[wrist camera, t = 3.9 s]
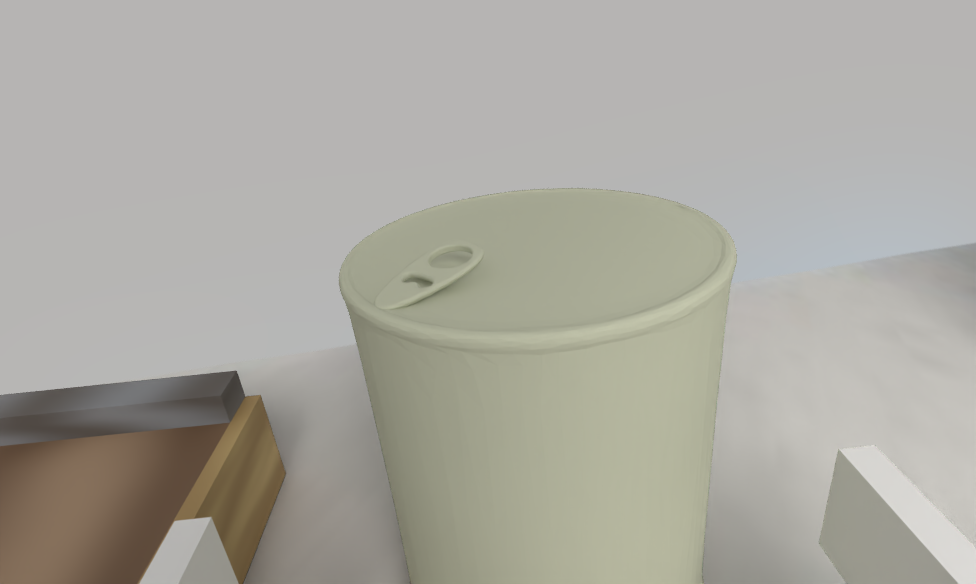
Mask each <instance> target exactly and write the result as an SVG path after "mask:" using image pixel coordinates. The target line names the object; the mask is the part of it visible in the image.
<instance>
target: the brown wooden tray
mask: <svg viewBox="0 0 976 584" xmlns="http://www.w3.org/2000/svg"><path fill="white" fill-rule="evenodd" d="M285 474H286V473H285V470H284V467H283V463H282V460H281V457H280V454H279V451H278V448H277V445H276V442H275V439H274V435H273V432H272V429H271V426H270V423H269V420H268V417H267V414H266V410H265V407H264V404H263V401H262V398H261V395H257V396H247V397H245V394H244V391H243V388H242V385H241V382H240V379H239V376H238V373H237V371H230V372H220V373H210V374H200V375H191V376H181V377H171V378H161V379H152V380H142V381H132V382H123V383H113V384H103V385H93V386H84V387H74V388H64V389H55V390H46V391H35V392H26V393H16V394H6V395H0V584H139V583H140V581H141V580H142V578H143V576H144V574H145V572H146V571H147V569H148V567H149V565H150V564H151V562H152V560H153V558H154V557H155V555H156V553H157V551H158V549H159V548H160V546H161V544H162V542H163V541H164V539H165V537H166V535H167V534H168V532H169V530H170V528H171V526H172V525H173V523H174V521H179V520H188V519H197V518H207V517H212V520H213V522H214V525H215V527H216V530H217V532H218V534H219V537H220V539H221V542H222V544H223V547H224V549H225V552H226V554H227V556H228V559H229V561H230V564H231V566H232V569H233V571H234V573H235V576H236V578H237V581H238V583H239V584H243V582H244V579H245V577H246V574H247V572H248V569H249V566H250V564H251V561H252V559H253V556H254V554H255V551H256V549H257V546H258V543H259V541H260V538H261V536H262V533H263V531H264V528H265V526H266V523H267V520H268V518H269V515H270V513H271V510H272V508H273V505H274V502H275V500H276V497H277V495H278V492H279V490H280V487H281V485H282V482H283V479H284V477H285Z"/></svg>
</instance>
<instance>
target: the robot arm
mask: <svg viewBox="0 0 976 584" xmlns="http://www.w3.org/2000/svg"><path fill="white" fill-rule="evenodd" d="M819 544H820V546H821V547H822V549H823V550H824V552H825V553H826V554H827V556H828V557H829V559H830V560H831V562H832V563H833V565H834V566H835V567H836V569H837V570H838V572H839V573H840V575H841V576H842V578H843V579H844V580H845V582H846V583H847V584H976V547H975V546H974V545H973V544H972V543H971V542H970V541H969V540H968V539H967V538H966V537H965V536H964V535H963V534H962V533H961V532H960V531H959V530H958V529H957V528H956V527H955V526H954V525H953V524H952V523H951V522H950V521H949V520H948V519H947V518H946V517H945V516H944V515H943V514H942V512H941V511H940V510H939V509H938V508H937V507H936V506H935V505H934V504H933V503H932V502H931V501H930V500H929V499H928V498H927V497H926V496H925V495H924V494H923V493H922V492H921V491H920V490H919V489H918V488H917V487H916V486H915V485H914V484H913V483H912V482H911V481H910V480H909V479H908V478H907V477H906V476H905V475H904V474H903V473H902V472H901V471H900V470H899V469H898V468H897V467H896V466H895V465H894V464H893V463H892V462H891V461H890V460H889V459H888V458H887V457H886V456H885V455H884V454H883V453H882V452H881V451H880V449H879V448H878V447H877V446H876V445H869V446H860V447H851V448H842V449H838V454H837V458H836V463H835V468H834V473H833V477H832V482H831V487H830V492H829V496H828V501H827V506H826V511H825V515H824V520H823V525H822V530H821V535H820V539H819ZM139 584H239V583H238V581H237V578H236V576H235V573H234V571H233V569H232V566H231V564H230V561H229V559H228V556H227V554H226V552H225V549H224V547H223V544H222V542H221V539H220V537H219V534H218V532H217V530H216V527H215V525H214V522H213V520H212V517H207V518H197V519H188V520H179V521H174V523H173V525H172V526H171V528H170V530H169V532H168V534H167V535H166V537H165V539H164V541H163V542H162V544H161V546H160V548H159V549H158V551H157V553H156V555H155V557H154V558H153V560H152V562H151V564H150V565H149V567H148V569H147V571H146V572H145V574H144V576H143V578H142V580H141V581H140V583H139Z"/></svg>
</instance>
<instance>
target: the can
mask: <svg viewBox="0 0 976 584" xmlns="http://www.w3.org/2000/svg"><path fill="white" fill-rule="evenodd" d="M736 262H737V254H736V248H735V245H734V241H733V240H732V238H731V236H730V235H729V233H728V232H727V231H726V230H725V228H723V227H722V226H721V225H720V224H719V223H718V222H716V221H715V220H713V219H712V218H710V217H709V216H708V215H706V214H704V213H702V212H700V211H698V210H696V209H693V208H690V207H688V206H685V205H683V204H680V203H677V202H674V201H670V200H666V199H663V198H659V197H654V196H649V195H644V194H638V193H631V192H623V191H615V190H603V189H585V188H584V189H583V188H558V189H534V190H522V191H512V192H504V193H496V194H490V195H484V196H478V197H473V198H468V199H463V200H458V201H454V202H450V203H446V204H443V205H438V206H434V207H432V208H429V209H425V210H422V211H419V212H416V213H414V214H411V215H408V216H405V217H403V218H401V219H398V220H396V221H394V222H392V223H389V224H388V225H386V226H384V227H382V228H380V229H378V230H377V231H375V232H374V233H372V234H371V235H369V236H367V237H366V238H365V239H363V240H362V241H361V242H360V243H359V244H357V245H356V246H355V247H354V248H353V249H352V251H351V252H350V253H349V254H348V255H347V257H346V258H345V260H344V262H343V264H342V266H341V269H340V273H339V286H340V291H341V294H342V296H343V299H344V300H345V303H346V306H347V309H348V311H349V315H350V319H351V323H352V327H353V330H354V334H355V338H356V342H357V346H358V350H359V354H360V358H361V362H362V366H363V370H364V375H365V379H366V383H367V388H368V392H369V396H370V401H371V405H372V409H373V414H374V418H375V422H376V427H377V431H378V435H379V440H380V444H381V448H382V453H383V457H384V461H385V466H386V470H387V474H388V479H389V483H390V487H391V492H392V496H393V500H394V505H395V510H396V514H397V519H398V524H399V528H400V533H401V538H402V543H403V547H404V552H405V557H406V562H407V567H408V572H409V578H410V584H704V581H703V576H702V570H703V555H704V539H705V528H706V517H707V506H708V495H709V484H710V473H711V462H712V451H713V440H714V429H715V418H716V408H717V398H718V389H719V380H720V370H721V361H722V351H723V342H724V333H725V323H726V314H727V307H728V300H729V293H730V285H731V280H732V276H733V272H734V269H735V266H736Z"/></svg>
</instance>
